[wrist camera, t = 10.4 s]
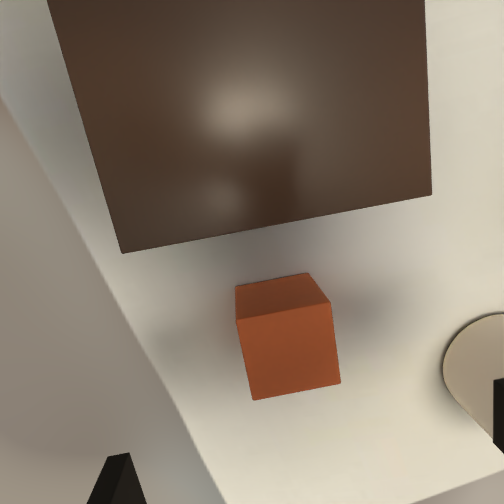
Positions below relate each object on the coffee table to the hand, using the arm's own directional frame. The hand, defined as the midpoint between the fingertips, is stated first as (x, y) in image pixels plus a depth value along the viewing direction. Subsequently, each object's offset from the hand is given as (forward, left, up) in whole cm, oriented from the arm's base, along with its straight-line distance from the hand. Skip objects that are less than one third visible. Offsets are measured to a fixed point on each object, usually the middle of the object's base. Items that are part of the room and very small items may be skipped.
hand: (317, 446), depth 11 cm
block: (0, 0, -11) cm, 11 cm away
